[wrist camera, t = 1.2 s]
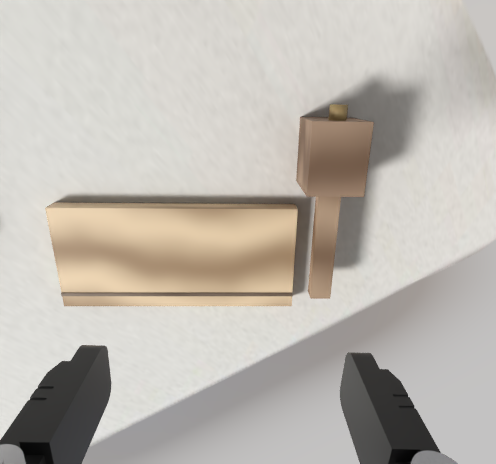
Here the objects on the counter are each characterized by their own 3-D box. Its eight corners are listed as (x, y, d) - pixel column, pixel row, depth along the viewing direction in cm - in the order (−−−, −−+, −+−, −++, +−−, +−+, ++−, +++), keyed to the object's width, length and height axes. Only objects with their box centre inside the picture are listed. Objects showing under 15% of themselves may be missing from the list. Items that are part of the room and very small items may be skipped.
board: (54, 202, 30) (44, 208, 28) (295, 204, 30) (297, 209, 29) (71, 297, 33) (63, 306, 32) (289, 297, 34) (291, 306, 32)
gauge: (301, 103, 28) (313, 104, 23) (352, 103, 28) (376, 105, 23) (290, 277, 33) (298, 307, 28) (333, 277, 33) (349, 307, 28)
